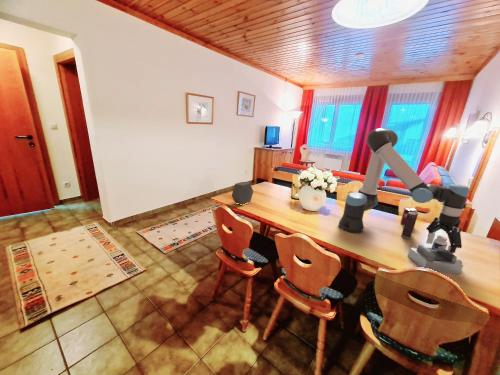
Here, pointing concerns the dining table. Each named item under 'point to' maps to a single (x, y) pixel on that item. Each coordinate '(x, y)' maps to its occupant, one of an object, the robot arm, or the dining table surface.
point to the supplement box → (409, 224)
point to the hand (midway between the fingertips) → (438, 249)
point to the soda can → (405, 213)
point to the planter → (242, 192)
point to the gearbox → (436, 259)
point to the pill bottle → (439, 243)
